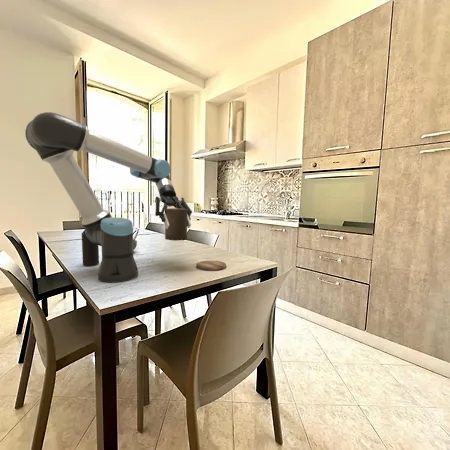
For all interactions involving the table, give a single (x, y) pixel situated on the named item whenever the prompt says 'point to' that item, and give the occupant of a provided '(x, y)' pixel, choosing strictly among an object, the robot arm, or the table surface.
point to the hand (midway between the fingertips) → (179, 226)
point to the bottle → (89, 251)
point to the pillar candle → (176, 224)
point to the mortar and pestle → (134, 244)
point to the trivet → (211, 265)
